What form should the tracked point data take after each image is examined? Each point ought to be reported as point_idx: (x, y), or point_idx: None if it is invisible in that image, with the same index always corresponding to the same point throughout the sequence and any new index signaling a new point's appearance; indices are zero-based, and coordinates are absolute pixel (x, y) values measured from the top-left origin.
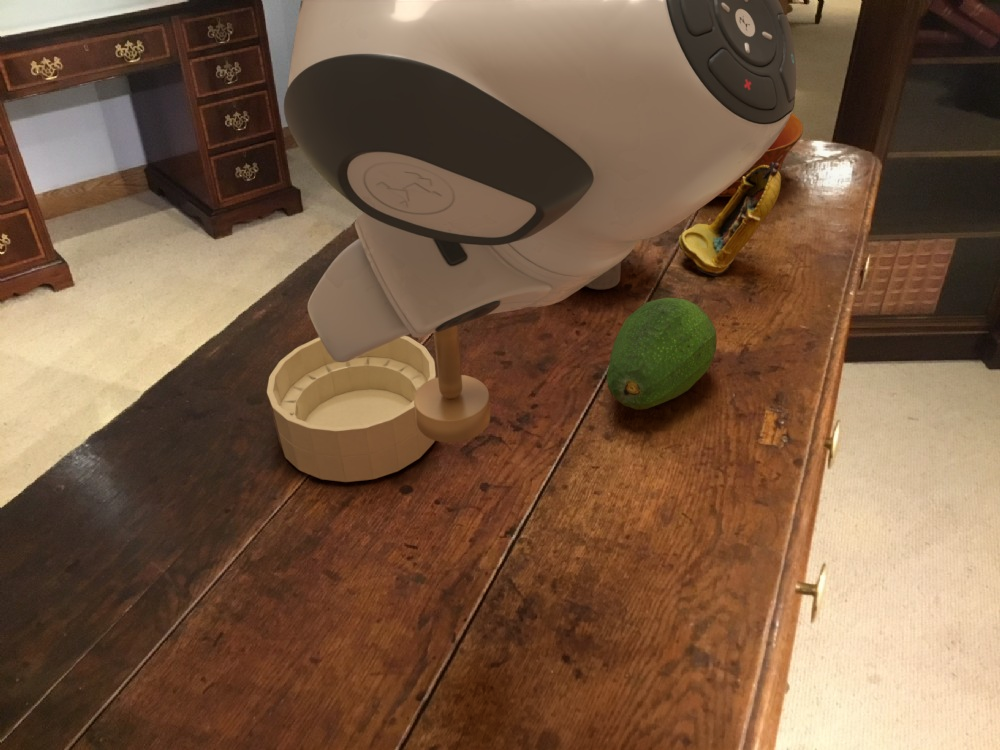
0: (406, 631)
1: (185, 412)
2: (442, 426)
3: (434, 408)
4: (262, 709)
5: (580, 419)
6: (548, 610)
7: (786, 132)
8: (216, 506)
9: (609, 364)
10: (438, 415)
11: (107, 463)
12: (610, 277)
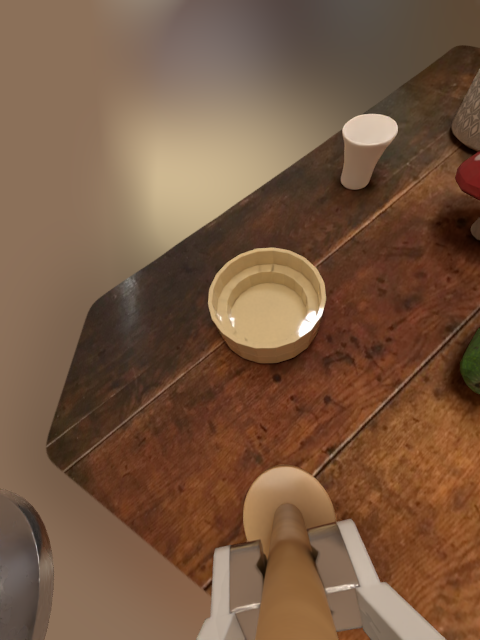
0: (235, 498)
1: (183, 265)
2: None
3: (261, 531)
4: (143, 508)
5: (420, 367)
6: None
7: None
8: (174, 342)
9: (472, 348)
10: None
11: (138, 288)
12: None
